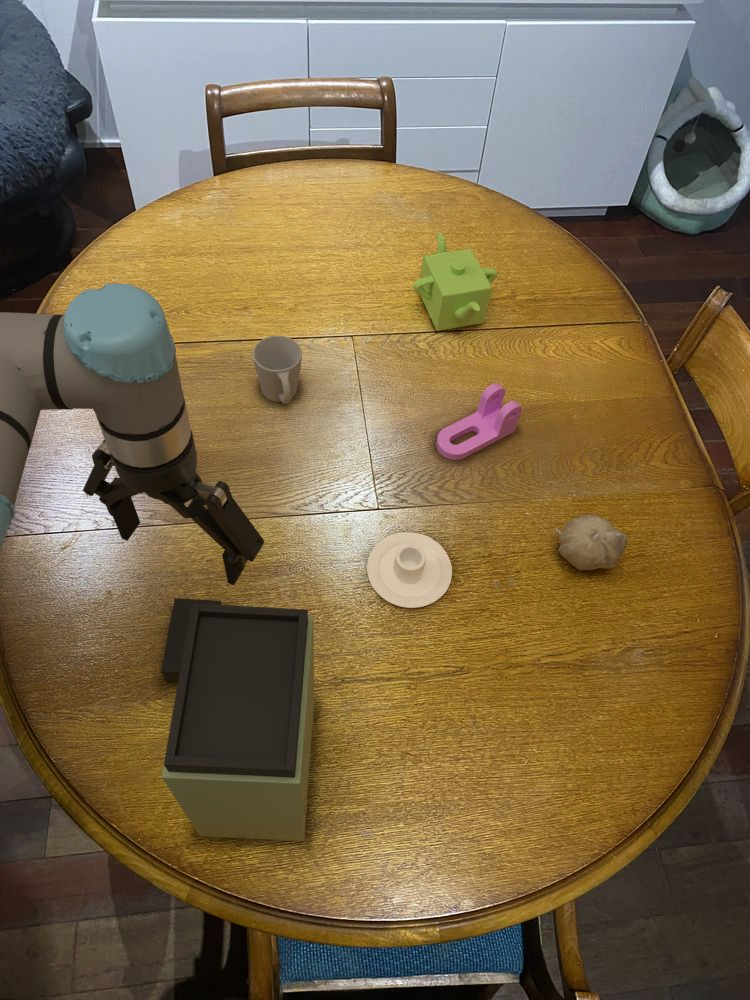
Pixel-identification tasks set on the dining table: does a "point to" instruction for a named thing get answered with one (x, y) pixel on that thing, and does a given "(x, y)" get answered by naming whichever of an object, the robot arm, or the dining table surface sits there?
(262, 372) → the cup
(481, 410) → the bracket
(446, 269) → the green knobbed cube
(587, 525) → the garlic bulb
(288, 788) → the tray
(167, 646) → the top pad
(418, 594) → the candle holder
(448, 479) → the dining table surface
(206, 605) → the base pad
